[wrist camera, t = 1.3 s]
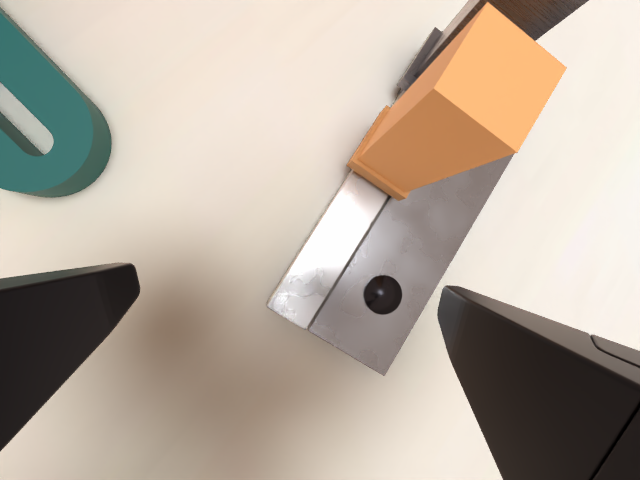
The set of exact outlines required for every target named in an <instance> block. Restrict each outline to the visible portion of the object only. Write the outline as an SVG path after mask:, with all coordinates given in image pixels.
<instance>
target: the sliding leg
mask: <svg viewBox="0 0 640 480" xmlns="http://www.w3.org/2000/svg"><path fill="white" fill-rule="evenodd" d="M566 68H567V67H565V66H564V65H563V64H562V63H561V62H559V61H558V60H557V59H556V58H555V57H553V56H552V55H551V54H550V53H549V52H547V51H546V50H545V49H544V48H543V47H541V46H540V45H539V44H538V43H537V42H535V41H534V40H533V39H532V38H531V37H529V36H528V35H527V34H526V33H525V32H523V31H522V30H521V29H520V28H519V27H517V26H516V25H515V24H514V23H513V22H511V21H510V20H509V19H508V18H507V17H505V16H504V15H503V14H502V13H501V12H499V11H498V10H497V9H496V8H495V7H493V6H492V5H491V4H490V3H489V2H487V3H486V4H485V5H484V6H483V8H482V9H481V10H480V11H479V12H478V13H477V14H476V15H475V16H474V17H473V18H472V20H471V21H470V22H469V23H468V24H467V25H466V26H465V27H464V28H463V29H462V31H461V32H460V33H459V34H458V35H457V36H456V37H455V38H454V39H453V40H452V41H451V43H450V44H449V45H448V46H447V47H446V48H445V49H444V50H443V51H442V52H441V54H440V55H439V56H438V57H437V58H436V59H435V60H434V61H433V62H432V63H431V64H430V66H429V67H428V68H427V69H426V70H425V71H424V72H423V73H422V74H421V75H420V77H419V78H418V79H417V80H416V81H415V82H414V83H413V84H412V85H411V86H410V87H409V89H408V90H407V91H406V92H405V93H404V94H403V95H402V96H401V97H400V98H399V100H398V101H397V102H396V103H395V104H394V105H393V106H392V107H391V108H390V107H388V106H387V105H386V107H385V108H384V109H383V110H382V111H381V112H380V114H379V115H378V117H377V118H376V120H375V122H374V123H373V125H372V126H371V128H370V129H369V131H368V132H367V134H366V136H365V137H364V139H363V140H362V142H361V143H360V145H359V147H358V148H357V150H356V151H355V153H354V154H353V156H352V158H351V159H350V161H349V162H348V164H347V166H348V167H350V168H351V169H353V170H354V171H356V172H357V173H358V174H360V175H361V176H363V177H364V178H366V179H367V180H369V181H370V182H371V183H373V184H374V185H376V186H377V187H379V188H380V189H382V190H383V191H384V192H386V193H387V194H389V195H390V196H392V197H393V198H394V199H396V200H397V201H400V200H403V199H406V198H407V196H408V195H409V193H410V191H411V190H414V189H417V188H419V187H422V186H425V185H428V184H431V183H433V182H436V181H439V180H442V179H445V178H447V177H450V176H453V175H456V174H459V173H461V172H464V171H467V170H470V169H472V168H475V167H478V166H481V165H484V164H486V163H489V162H492V161H495V160H498V159H500V158H503V157H506V156H509V155H512V154H514V153H517V152H518V150H519V149H520V147H521V145H522V144H523V142H524V140H525V138H526V137H527V135H528V133H529V132H530V130H531V128H532V126H533V125H534V123H535V121H536V120H537V118H538V116H539V114H540V113H541V111H542V109H543V108H544V106H545V104H546V103H547V101H548V99H549V97H550V96H551V94H552V92H553V91H554V89H555V87H556V85H557V84H558V82H559V80H560V79H561V77H562V75H563V73H564V72H565V70H566Z"/></svg>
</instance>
